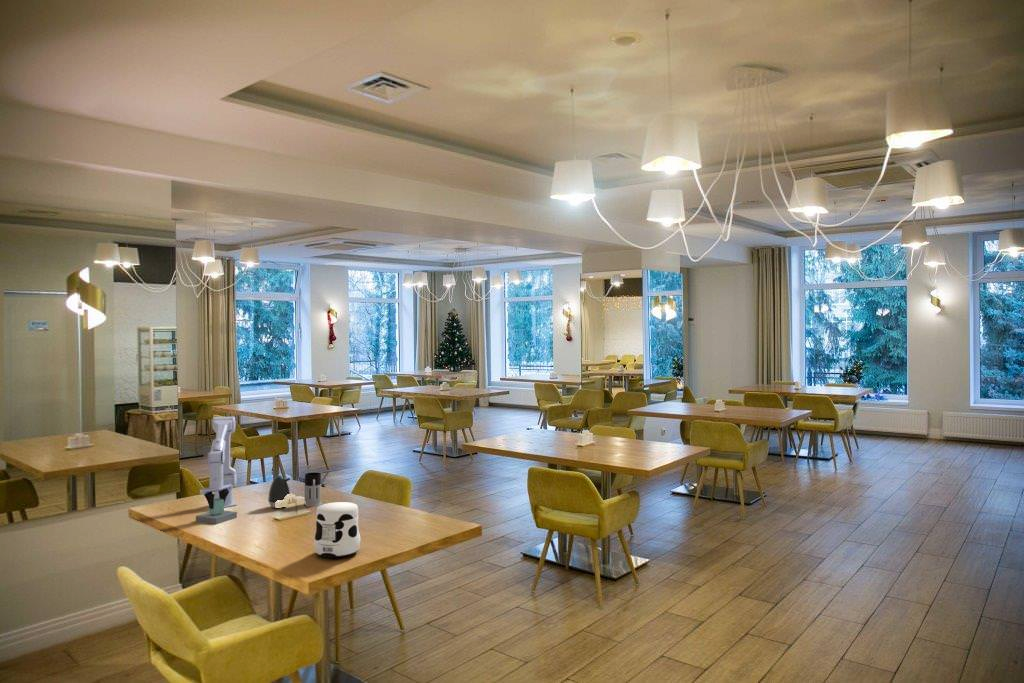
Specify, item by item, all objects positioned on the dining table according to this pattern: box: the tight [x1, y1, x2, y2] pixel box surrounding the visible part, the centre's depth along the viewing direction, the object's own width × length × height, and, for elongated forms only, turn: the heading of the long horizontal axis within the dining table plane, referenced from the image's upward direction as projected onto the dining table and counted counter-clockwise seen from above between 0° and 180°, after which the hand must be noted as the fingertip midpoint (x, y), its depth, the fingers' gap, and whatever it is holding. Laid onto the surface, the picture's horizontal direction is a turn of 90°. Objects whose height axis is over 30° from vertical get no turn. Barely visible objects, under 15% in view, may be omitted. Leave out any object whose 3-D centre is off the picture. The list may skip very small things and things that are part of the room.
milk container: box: [313, 501, 362, 559], centre depth 261 cm, size 17×17×18 cm
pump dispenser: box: [268, 475, 291, 509], centre depth 331 cm, size 10×10×15 cm
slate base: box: [195, 509, 238, 525], centre depth 309 cm, size 12×12×2 cm
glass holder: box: [304, 471, 323, 508], centre depth 334 cm, size 9×14×15 cm, turn 20°
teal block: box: [208, 498, 225, 515], centre depth 309 cm, size 4×4×6 cm
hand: (216, 507), depth 309 cm, fingers closed on teal block, 4 cm apart
